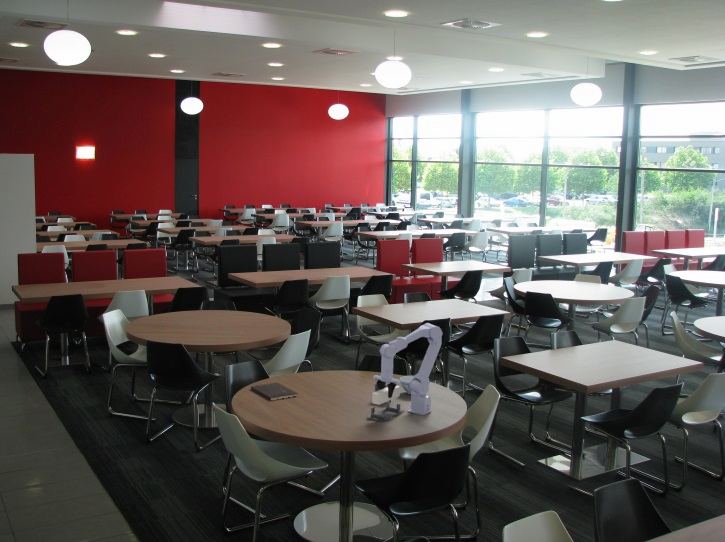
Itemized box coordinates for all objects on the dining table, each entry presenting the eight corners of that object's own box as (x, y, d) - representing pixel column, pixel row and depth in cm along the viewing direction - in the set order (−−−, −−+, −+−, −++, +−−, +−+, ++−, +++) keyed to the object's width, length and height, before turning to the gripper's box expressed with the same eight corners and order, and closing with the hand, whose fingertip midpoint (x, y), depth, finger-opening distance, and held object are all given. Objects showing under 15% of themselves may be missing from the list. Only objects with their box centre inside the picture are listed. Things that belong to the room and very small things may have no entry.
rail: (399, 396, 360) (399, 386, 360) (379, 404, 346) (379, 394, 345) (392, 394, 363) (393, 384, 362) (372, 403, 348) (372, 392, 348)
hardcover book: (277, 386, 401) (277, 382, 400) (297, 397, 382) (297, 393, 381) (250, 390, 392) (250, 386, 391) (270, 401, 373) (270, 397, 372)
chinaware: (428, 397, 386) (428, 383, 385) (399, 396, 386) (400, 382, 385) (426, 389, 401) (426, 376, 400) (398, 388, 401) (399, 375, 400)
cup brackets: (403, 412, 361) (404, 402, 360) (381, 422, 345) (381, 412, 344) (389, 408, 366) (389, 399, 365) (366, 418, 350) (366, 408, 349)
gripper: (370, 368, 353) (369, 395, 355) (395, 373, 345) (394, 401, 347) (378, 365, 359) (377, 392, 361) (403, 370, 351) (402, 398, 352)
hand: (386, 396), depth 354 cm, fingers closed on rail, 4 cm apart
